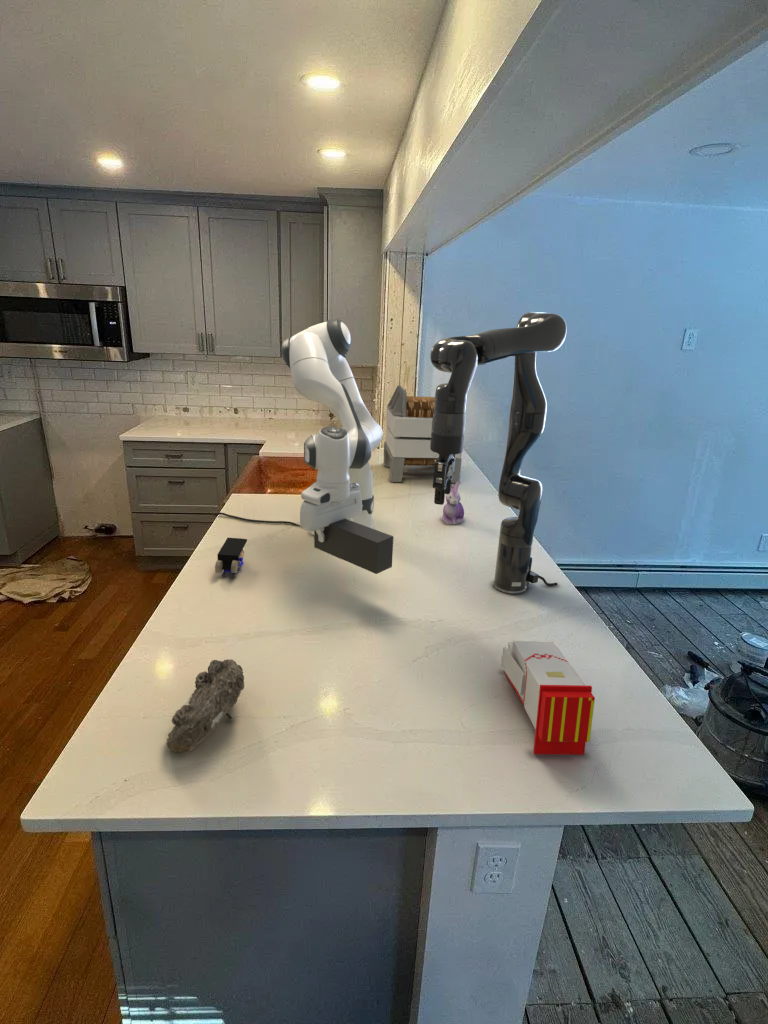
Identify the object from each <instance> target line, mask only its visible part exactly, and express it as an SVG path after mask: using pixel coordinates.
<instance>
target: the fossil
mask: <svg viewBox="0 0 768 1024" xmlns="http://www.w3.org/2000/svg"><path fill="white" fill-rule="evenodd" d="M243 670H244V669H243V667H242V665H240V664H237V662H236V661H235V660H234V659H232V658H231V659H227V658H226V659H224V660H223V661H222V660H217V659H212V660H211V661H210V663H209V665H208V666H207V671H201V672H199V673H198V674H197V675H196V676H195V680H194V684H195V685H194V687H195V689H194V690H193V693H192V694H191V697H190V698H189V700H188V704H184V705H182V706H181V707H180V709H177V710H176V711H175V713H174V715H173V716H172V718H171V723H172V724H173V727H172V730H171V731H170V732H168V734H167V738H166V741H167V742H166V745H167V749H168V750H169V751H173V752H174V753H176V754H178V753H182V752H188V751H189V752H192V751H193V750H195V748H196V747H197V746H199V744H200V743H201V742H203V741H204V740H205V739H206V738H207V737H208V736H209V735H210V734H211V733H212V732H214V730H215V729H217V727H218V726H219V724H220V722H221V721H222V720H223V719H224V718H225V716H226V717H227V719H229V720H233V717H232V715H230V714H229V710H230V709H231V708H234V706H235V704H236V703H237V702H238V699H239V697H240V695H241V693H242V691H243V690H245V689H244V688H245V675H244V671H243Z"/></svg>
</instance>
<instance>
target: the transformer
mask: <svg viewBox="0 0 768 1024" xmlns="http://www.w3.org/2000/svg"><path fill="white" fill-rule="evenodd" d="M407 394H408V393H407V390H406V389H404V388H403V387H402V385H399V384H398V385H397V386H396V388H395V390H394V392H393V394H392V395H391V398H390V400H389V402H388V404H387V405H386V413H385V414H386V415H385V423H386V428H385V438H384V442H383V466H384V467H388V468H389V475H388V476H389V477H388V478H389V480H390V482H391V483H402V482H403V475H404V469H405V466H406V467H407V466H411V467H412V466H413V467H415V466H416V467H417V466H418V467H435V462H436V460H438V457H439V454H438V453H435V452H433V451H431V449H430V443H431V429H432V419H433V414H434V404H435V396H415V395H414V396H413V395H412V396H411V395H407ZM462 453H463V451H462V452H461V453H460V454H455V466H454V471H455V472H454V474H453V477H452V479H451V478H450V479H451V484H455V483H456V482H459V483H461V472H462V461H463V460H462Z"/></svg>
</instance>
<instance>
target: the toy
mask: <svg viewBox="0 0 768 1024" xmlns="http://www.w3.org/2000/svg"><path fill="white" fill-rule="evenodd" d="M500 666H501V668H502V669H503V672H504V674H505V676H506V678H507V679H508V681H509V683H510V685H511V686H512V688H513V690H514V691H515V693H516V695H517V697H518V698H519V701H520V702H521V703H522V705H523V707H524V710H525V712H526V714H527V716H528V718H529V720H530V722H531V724H532V725H533V728H534V730H535V731H534V743H533V755H566V756H567V755H569V756H570V755H571V756H572V755H573V756H584V755H585V752H586V751H585V750H586V743H590V741H591V734H592V732H591V731H592V725H593V716H594V710H595V709H594V708H595V699H596V697H595V696H594V694H593V693H592V692H593V687H592V685H587V684H585V681H583V679H581V677H580V676H579V674H578V673H577V672H576V670H575V669H574V667H573V666H572V664H570V662H569V660H568V659H567V658H566V656H564V654H563V653H562V651H561V650H560V648H559V646H557V645H556V643H555V642H554V641H545V640H544V641H543V640H542V641H540V640H537V641H536V640H512V641H509V642H507V647H506V646H503V647H502V653H501V660H500Z"/></svg>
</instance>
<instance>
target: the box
mask: <svg viewBox="0 0 768 1024" xmlns="http://www.w3.org/2000/svg"><path fill="white" fill-rule="evenodd" d="M323 533H324V534H325V535H327V538H326V539H327V540H326V541H324V542H320V541H319V540H318V534H317V532H316V531H314V535H313V538H314V540H313V544H314V545H313V548H314V549H317V550H319V551H321V552H324V553H325V554H328V555H331V556H334V557H336V558H338V559H340V560H343V561H346V562H347V563H350V564H351V565H354V566H356V567H359V568H361V569H363V570H365V571H368V572H370V573H373V574H375V575H378V574H380V573H382V572H384V571H386V570H388V569H390V568H392V567H393V555H394V554H393V551H394V536H393V535H391V534H388V533H385V532H382V531H380V530H377V529H376V528H375V529H372V528H369V527H366V526H364V525H361V524H358V523H356V522H353V521H350V520H347V519H343V520H340V521H337V522H334V523H331V524H329V526H326V527H324V531H323Z"/></svg>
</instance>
